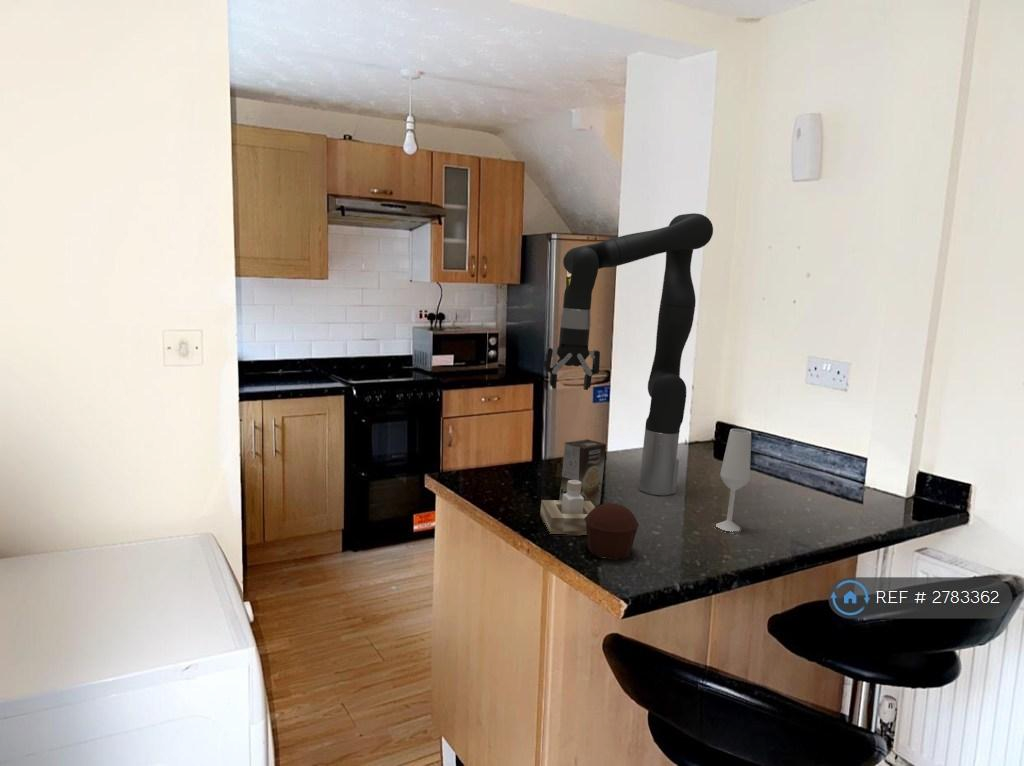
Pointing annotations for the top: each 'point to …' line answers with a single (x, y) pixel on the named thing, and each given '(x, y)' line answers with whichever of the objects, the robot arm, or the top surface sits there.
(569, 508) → the pepper shaker
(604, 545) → the muffin
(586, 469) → the coffee box
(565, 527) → the birch holder
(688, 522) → the top surface
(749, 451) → the champagne flute
